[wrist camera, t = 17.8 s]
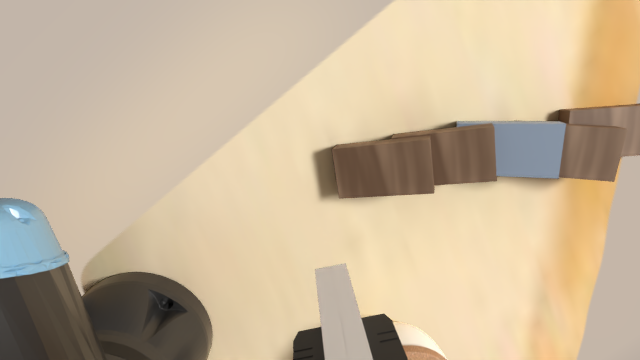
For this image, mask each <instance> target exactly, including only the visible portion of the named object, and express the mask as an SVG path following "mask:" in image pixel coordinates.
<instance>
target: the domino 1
mask: <svg viewBox="0 0 640 360" xmlns="http://www.w3.org/2000/svg"><path fill="white" fill-rule="evenodd" d="M332 155H333V161H334V167H335V174H336V180H337V187H338V193H339V198H357V197H375V196H394V195H412V194H431V193H434V175H433V163H432V151H431V139H430V135H427V136H417V137H408V138H398V139H388V140H379V141H369V142H360V143H350V144H340V145H336V146H335V147H334V148H333V149H332Z"/></svg>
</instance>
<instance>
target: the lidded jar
mask: <svg viewBox="0 0 640 360" xmlns="http://www.w3.org/2000/svg"><path fill="white" fill-rule="evenodd" d="M393 324H394V326H395V329H396V332H397V334H398V336H399V339H400V341H401V343H402V346H403V348H404V351H405V353H406V356H407V358H408V360H447V359H446V357H445V355H444V354H443V352H442V351H441V349H440V348H439V347H438V345H437V344H436V343H435V341H434V340H433V339H432V338H431V337H429V336H428V335H427V334H426V333H425V332H423V331H422V330H420V329H419V328H417V327H415V326H413V325H410V324H407V323H403V322H393Z"/></svg>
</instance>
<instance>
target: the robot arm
mask: <svg viewBox="0 0 640 360" xmlns="http://www.w3.org/2000/svg"><path fill="white" fill-rule="evenodd" d="M68 262H69V255H68V253H67V252H65V251H63V250H62V249H61V247H60V244H59V242H58V240H57V238H56V237H55V234H54V232H53V230H52V228H51V226H50V224H49V222H48V220H47V217H46V216H45V214H44V213H43V212H42V211H41V210H40V209H39V208H38V207H37V206H35V205H34V204H32V203H29V202H27V201H23V200H20V199H13V198H0V360H207V358H208V355H209V352H210V349H211V345H212V326H211V322H210V319H209V316H208V314H207V312H206V310H205V308H204V306H203V305H202V303H201V302H200V301H199V300H198V298H197V297H196V296H195V295H194V294H193V293H192V292H190V291H189V290H188V289H187V288H185V287H184V286H182V285H181V284H179V283H177V282H175V281H173V280H171V279H169V278H166V277H163V276H160V275H156V274H151V273H142V272H132V273H123V274H118V275H115V276H111V277H109V278H106V279H104V280H102V281H100V282H98V283H97V284H95V285H94V286H93V287H91V288H90V289H89V290H88V291H87V292H86V293H85V294H84V295H83V296H82V297H81V294H80V292H79V290H78V287H77V285H76V282H75V280H74V277H73V275H72V272H71V270H70V267H69V265H68ZM315 274H316V283H317V292H318V302H319V311H320V320H321V327H319V328H314V329H309V330H304V331H299V332H298V334H297V335H296V337H295V339H294V341H293V352H294V353H293V360H408V358H407V356H406V353H405V351H404V348H403V346H402V343H401V341H400V339H399V336H398V334H397V332H396V329H395V326H394V324H393V322H392V320H391V319H390V318H388V317H387V316H386V315H385V314H380V315H375V316H370V317H365V318H361V315H360V312H359V308H358V305H357V301H356V298H355V294H354V291H353V287H352V284H351V280H350V277H349V273H348V270H347V266H346V263H345V264H340V265H335V266H330V267H325V268H320V269H315Z"/></svg>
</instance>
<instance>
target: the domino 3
mask: <svg viewBox="0 0 640 360" xmlns="http://www.w3.org/2000/svg"><path fill="white" fill-rule="evenodd" d="M488 123H492V124H493V126H494V128H495V152H496V175H497V176H509V177H533V178H558V179H559V171H560V164H561V157H562V150H563V142H564V135H565V128H566V123H563V122H560V121H457V124H456V127H462V126H470V125H479V124H488Z"/></svg>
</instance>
